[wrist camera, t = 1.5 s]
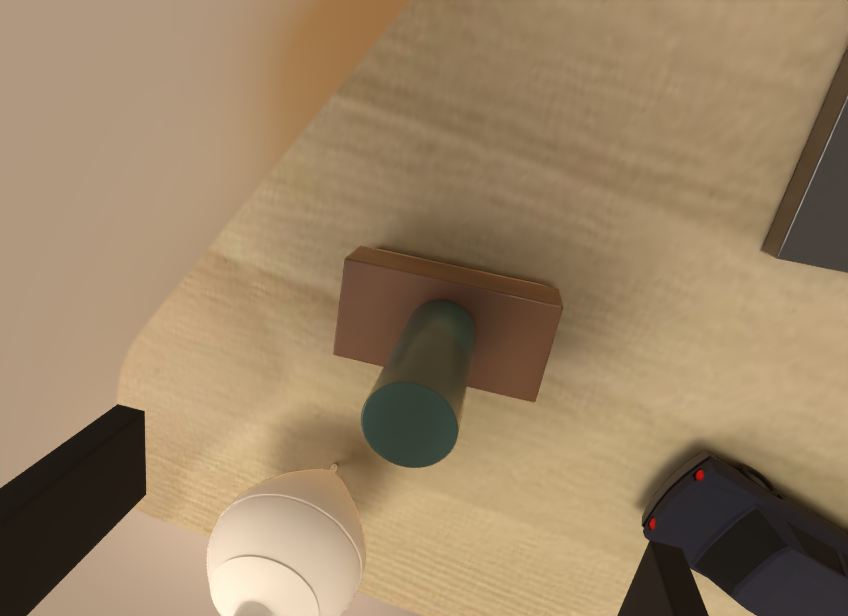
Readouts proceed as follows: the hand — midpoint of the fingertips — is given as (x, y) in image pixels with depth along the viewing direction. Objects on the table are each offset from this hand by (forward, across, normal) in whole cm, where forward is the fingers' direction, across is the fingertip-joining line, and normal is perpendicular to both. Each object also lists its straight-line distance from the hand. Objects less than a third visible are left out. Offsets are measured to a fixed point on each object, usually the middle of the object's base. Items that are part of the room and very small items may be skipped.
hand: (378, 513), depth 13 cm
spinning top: (+16, -5, -12) cm, 20 cm away
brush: (+16, 0, 0) cm, 16 cm away
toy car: (+16, +20, -9) cm, 27 cm away
